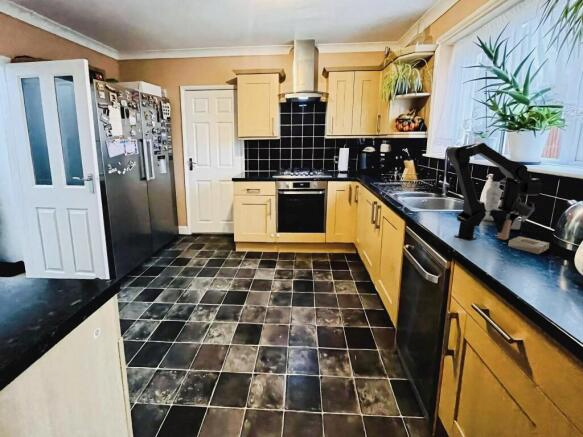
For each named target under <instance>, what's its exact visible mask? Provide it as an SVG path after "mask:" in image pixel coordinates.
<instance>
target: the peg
mask: <svg viewBox="0 0 583 437" xmlns="http://www.w3.org/2000/svg"><path fill="white" fill-rule="evenodd" d="M511 221H512V220H507V221H506V222H505V225H504V227H503V230H502V232H501V233H499V232H498V231H497V236H496V237H497V238H496V239H500V240H505V241H506V240H508V239H509V236H510V231H511V229H510V226H511Z"/></svg>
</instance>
